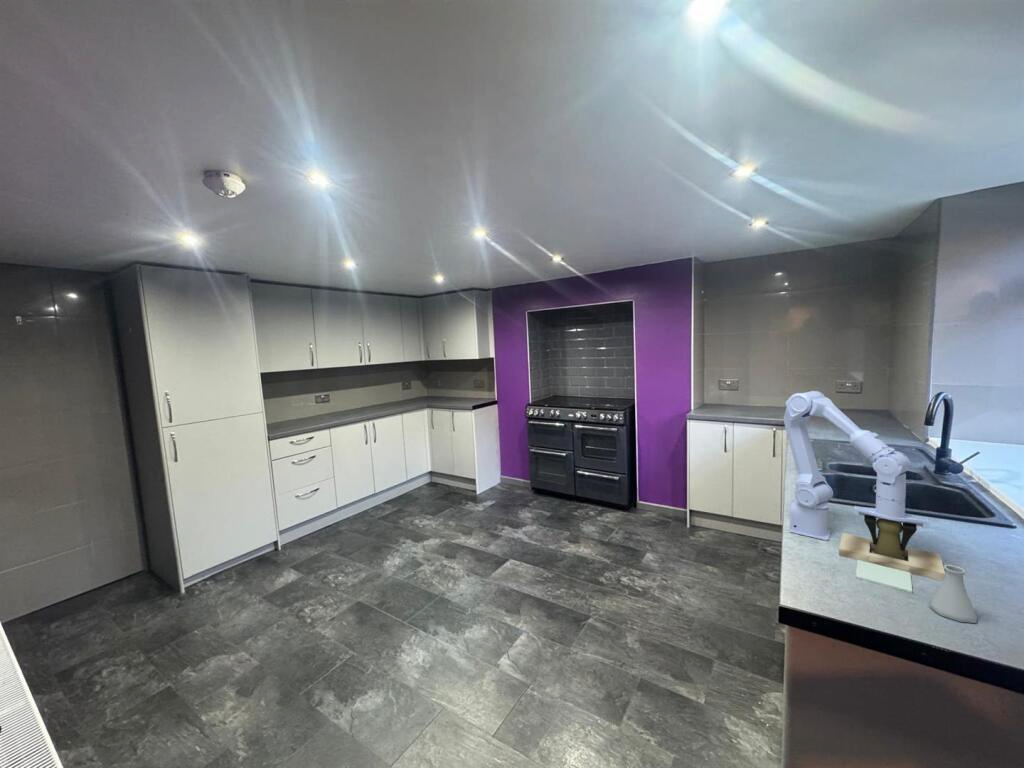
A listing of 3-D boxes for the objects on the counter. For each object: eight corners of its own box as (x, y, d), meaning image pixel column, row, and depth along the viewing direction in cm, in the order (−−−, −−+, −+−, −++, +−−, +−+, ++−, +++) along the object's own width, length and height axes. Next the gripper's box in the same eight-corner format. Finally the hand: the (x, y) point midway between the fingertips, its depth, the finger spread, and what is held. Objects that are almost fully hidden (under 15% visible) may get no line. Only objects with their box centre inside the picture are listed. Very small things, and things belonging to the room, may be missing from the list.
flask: (985, 628, 81) (987, 581, 80) (935, 617, 85) (937, 572, 84) (969, 608, 87) (971, 564, 86) (923, 598, 91) (925, 556, 90)
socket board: (838, 555, 111) (839, 548, 110) (842, 539, 119) (842, 533, 119) (944, 581, 97) (945, 573, 97) (939, 561, 106) (940, 554, 106)
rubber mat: (855, 577, 100) (855, 576, 100) (857, 561, 107) (857, 559, 107) (912, 593, 93) (912, 591, 93) (910, 574, 100) (910, 572, 100)
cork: (909, 565, 105) (911, 524, 104) (883, 563, 106) (884, 523, 105) (893, 553, 110) (894, 515, 110) (867, 552, 112) (869, 514, 111)
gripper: (928, 499, 105) (926, 548, 106) (855, 487, 115) (854, 533, 116) (930, 507, 100) (928, 559, 101) (854, 494, 110) (852, 542, 111)
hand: (888, 546), depth 108 cm, fingers closed on cork, 5 cm apart
